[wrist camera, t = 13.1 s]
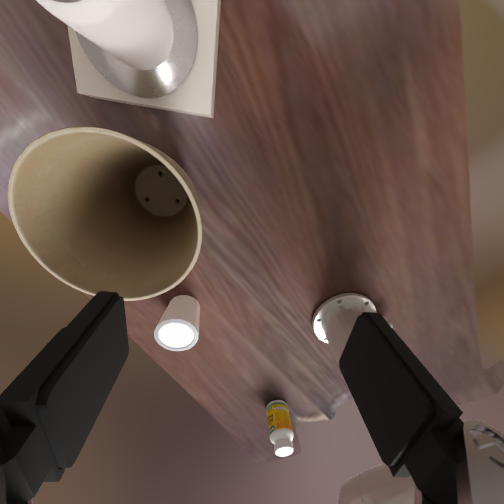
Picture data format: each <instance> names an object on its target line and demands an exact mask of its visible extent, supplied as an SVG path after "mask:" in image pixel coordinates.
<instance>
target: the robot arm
mask: <svg viewBox="0 0 504 504" xmlns="http://www.w3.org/2000/svg"><path fill="white" fill-rule="evenodd" d="M312 326H313V329H314V332H315V334H316V336H317V337H318V338H319V339H320V340H321V341H323V342H325V343H328V344H329V346H330V348H331V350H332V352H333V354H334V356H335V359H336V361H337V363H338V365H339V367H340V370H341V372H342V374H343V377H344V379H345V381H346V383H347V385H348V388H349V390H350V392H351V394H352V396H353V398H354V401H355V402H356V405H357V407H358V409H359V411H360V413H361V416H362V418H363V420H364V422H365V424H366V427H367V429H368V431H369V433H370V435H371V438H372V440H373V442H374V444H375V446H376V448H377V451H378V452H379V455H380V457H381V459H382V461H383V462H384V463H383V464H380V465H378V466H376V467H373V468H371V469H369V470H366V471H364V472H362V473H360V474H358V475H355V476H354V477H352V478H350V479H348V480H347V481H346V482H344V483H343V484H342V486H341V487H340V489H339V492H338V496H337V504H504V434H502V433H501V432H500V431H498V430H496V429H495V428H493V427H492V426H490V425H488V424H486V423H484V422H482V421H478V420H474V419H470V420H466V421H465V422H464V423H463V422H462V421H461V419H460V418H459V417H460V416H461V414H462V413H463V412H462V411H461V410H460V409H459V407H458V406H457V405H456V404H455V403H454V401H453V400H452V399H451V398H450V397H449V395H448V394H447V393H446V392H445V391H444V390H443V388H442V387H441V386H440V385H439V384H438V382H437V381H436V380H435V379H434V378H433V376H432V375H431V374H430V373H429V372H428V370H427V369H426V368H425V367H424V366H423V364H422V363H421V362H420V361H419V360H418V359H417V357H416V356H415V355H414V354H413V353H412V351H411V350H410V349H409V348H408V347H407V345H406V344H405V343H404V342H403V341H402V339H401V338H400V337H399V336H398V335H397V333H396V332H395V331H394V330H393V329H392V328H393V324H392V323H391V322H386V320H385V319H384V318H383V317H382V316H381V315H380V314H379V313H377V312H376V308H375V306H374V304H373V303H372V302H371V301H370V300H369V299H368V298H367V297H366V296H364V295H361V294H358V293H343V294H339V295H336V296H334V297H331V298H330V299H328V300H326V301H325V302H324V303H323V304H321V305H320V307H319V308H318V309H317V310H316V312H315V314H314V316H313V320H312ZM128 351H129V346H128V337H127V327H126V317H125V307H124V299H123V297H121V296H119V294H118V293H117V292H108V291H99V292H98V293H97V294H96V295H95V296H94V297H93V298H92V299H91V300H90V301H89V303H88V304H87V305H86V306H85V307H84V308H83V309H82V310H81V311H80V312H79V314H78V315H77V316H76V317H75V318H74V319H73V320H72V321H71V322H70V323H69V325H68V326H67V327H65V328H63V329H61V330H60V331H59V332H58V333H57V334H56V335H55V337H54V338H53V339H52V340H51V341H50V342H49V343H48V344H47V345H46V346H45V347H44V348H43V349H42V350H41V352H40V353H39V354H38V355H37V356H36V357H35V358H34V359H33V360H32V361H31V362H30V363H29V365H28V366H27V367H26V368H25V369H24V370H23V371H22V372H21V373H20V374H19V375H18V376H17V377H16V379H15V380H14V381H13V382H12V383H11V384H10V385H9V386H8V387H7V389H5V390H4V391H3V393H2V394H1V395H0V504H32V498H33V497H35V495H36V493H37V491H38V490H39V488H40V486H41V484H42V483H43V482H57V481H60V479H61V477H62V474H63V473H64V471H65V469H66V468H70V467H71V466H72V465H73V464H74V463H75V461H76V459H77V457H78V455H79V453H80V451H81V449H82V447H83V445H84V443H85V441H86V439H87V437H88V435H89V433H90V431H91V429H92V427H93V425H94V423H95V421H96V419H97V417H98V415H99V413H100V411H101V409H102V407H103V405H104V403H105V401H106V399H107V397H108V395H109V393H110V391H111V389H112V387H113V385H114V383H115V381H116V379H117V377H118V375H119V373H120V371H121V369H122V367H123V365H124V363H125V361H126V359H127V356H128Z"/></svg>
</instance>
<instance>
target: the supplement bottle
mask: <svg viewBox="0 0 504 504" xmlns="http://www.w3.org/2000/svg"><path fill="white" fill-rule="evenodd" d="M266 410H267V418H268V426H269V434H270V440H271V442H272V443H273V444H274V450H275V454H276V455H277V456H281V457H284V456H288V455H290V454H292V453H293V444H292V442H291V441H292V440H293V437H294V435H293V430H292V425H291V420H290V415H289V410H288V406H287V404H286V403H285V402H284V401H282V400H274V401H272V402H270V403H269V404H268V405H267V407H266Z"/></svg>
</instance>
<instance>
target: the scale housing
mask: <svg viewBox="0 0 504 504" xmlns="http://www.w3.org/2000/svg"><path fill="white" fill-rule="evenodd" d="M191 1H192V5H193V8H194V11H195V15H196V20H197V25H198V52H197V57H196V61H195V64H194V67H193V70H192V72H191V74H190V76H189V77H188V79H187V80H186V82H185V83H184V84H183V85H182V86H181V87H180V88H179V89H178V90H176V91H175V92H173V93H172V94H170V95H167V96H165V97H161V98H155V99H147V98H140V97H136V96H133V95H131V94H128V93H126V92H124V91H122V90H120V89H118V88H117V87H115V86H114V85H112V84H111V83H110V82H109V81H107V80H106V79H105V78H104V77H103V76H102V75H101V74H100V73H99V72H98V71H97V70H96V68H95V67H94V66H93V64H92V63H91V62H90V60H89V59H88V57H87V56H86V54H85V52H84V50H83V48H82V46H81V44H80V42H79V40H78V37H77V34H76V31H75V30H74V29H73V28H71V27H70V26H68V25H67V26H68V33H69V40H70V46H71V53H72V60H73V67H74V74H75V80H76V87H77V93H79V94H82V95H85V96H89V97H92V98H96V99H101V100H107V101H113V102H119V103H125V104H131V105H137V106H142V107H148V108H154V109H160V110H166V111H172V112H178V113H184V114H190V115H196V116H202V117H207V118H213V116H214V101H215V85H216V70H217V54H218V38H219V23H220V7H221V0H191Z"/></svg>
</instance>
